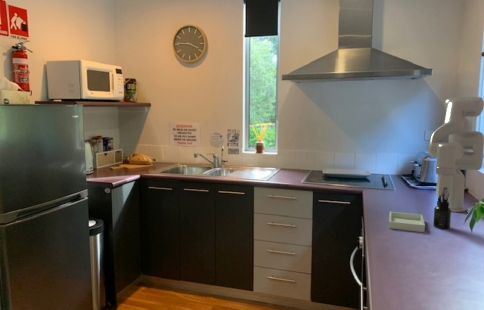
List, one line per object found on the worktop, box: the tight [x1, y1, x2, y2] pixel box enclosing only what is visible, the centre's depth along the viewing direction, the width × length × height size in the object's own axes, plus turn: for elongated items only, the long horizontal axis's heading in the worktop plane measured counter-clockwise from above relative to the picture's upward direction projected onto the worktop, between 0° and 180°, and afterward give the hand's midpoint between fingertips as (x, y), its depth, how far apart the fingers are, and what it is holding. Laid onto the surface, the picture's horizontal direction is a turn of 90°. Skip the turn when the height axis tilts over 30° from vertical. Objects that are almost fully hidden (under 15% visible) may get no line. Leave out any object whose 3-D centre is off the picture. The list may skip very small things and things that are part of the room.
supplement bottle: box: [433, 200, 452, 230], centre depth 166 cm, size 7×7×12 cm
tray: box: [388, 211, 426, 233], centre depth 171 cm, size 18×15×3 cm
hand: (442, 208), depth 165 cm, fingers open, 9 cm apart
